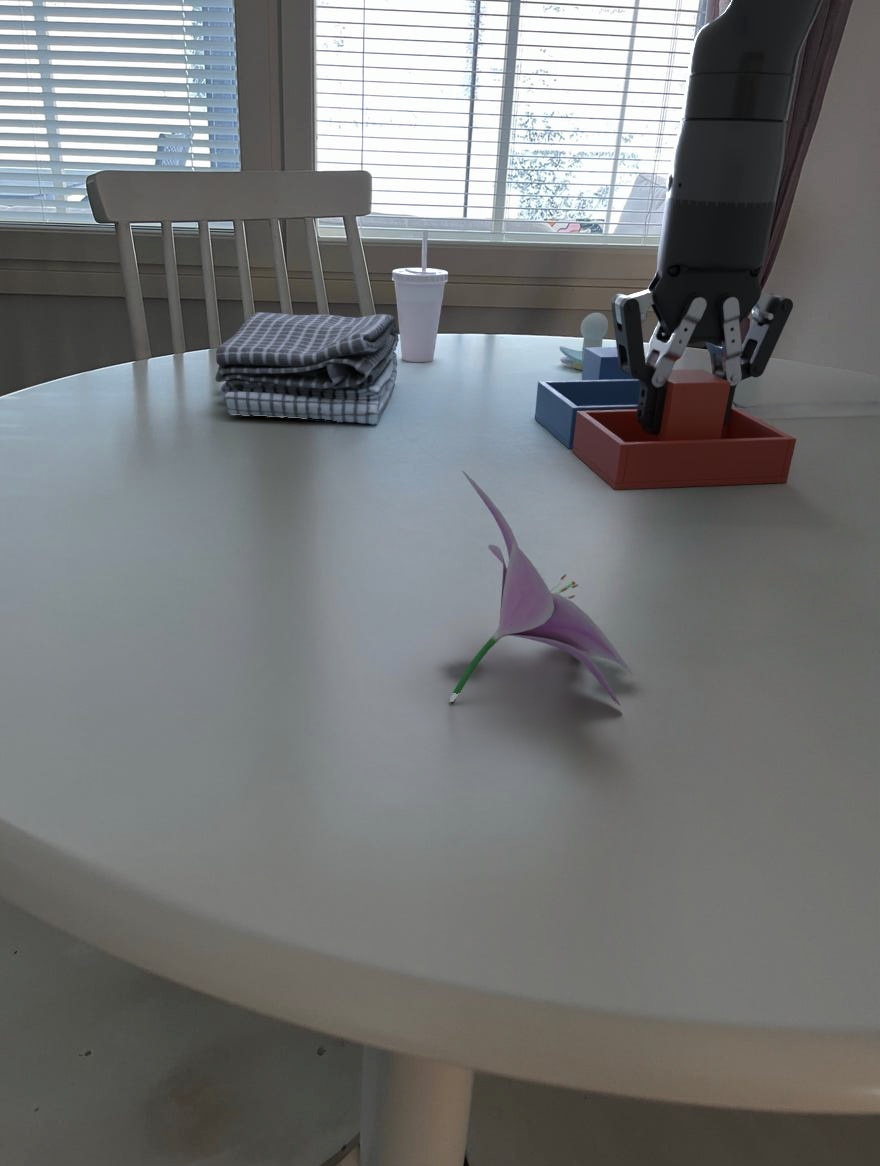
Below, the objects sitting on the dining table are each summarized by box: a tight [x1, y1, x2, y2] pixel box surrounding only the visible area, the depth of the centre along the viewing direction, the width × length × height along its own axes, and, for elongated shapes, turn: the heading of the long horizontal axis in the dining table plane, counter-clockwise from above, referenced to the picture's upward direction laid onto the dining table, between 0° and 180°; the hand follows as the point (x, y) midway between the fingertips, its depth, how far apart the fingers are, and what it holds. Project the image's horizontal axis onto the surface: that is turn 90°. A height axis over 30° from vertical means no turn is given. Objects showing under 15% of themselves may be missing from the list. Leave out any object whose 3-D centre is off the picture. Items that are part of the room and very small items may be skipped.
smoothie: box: [391, 229, 449, 363], centre depth 107 cm, size 6×6×14 cm
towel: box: [214, 311, 400, 425], centre depth 90 cm, size 15×18×8 cm
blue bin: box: [534, 379, 640, 450], centre depth 84 cm, size 14×10×4 cm
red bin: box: [571, 406, 797, 491], centre depth 75 cm, size 14×10×4 cm
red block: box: [653, 368, 731, 441], centre depth 73 cm, size 5×5×5 cm
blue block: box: [581, 346, 634, 380], centre depth 94 cm, size 5×5×5 cm
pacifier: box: [559, 312, 609, 371], centre depth 107 cm, size 7×6×6 cm
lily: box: [452, 470, 632, 706], centre depth 43 cm, size 12×12×10 cm
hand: (680, 430), depth 74 cm, fingers closed on red block, 4 cm apart
